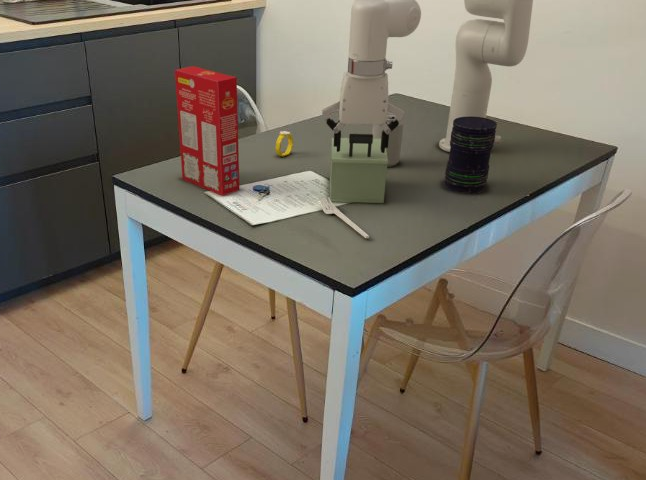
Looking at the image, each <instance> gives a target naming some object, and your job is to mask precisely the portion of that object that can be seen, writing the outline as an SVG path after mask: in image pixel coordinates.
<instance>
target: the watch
mask: <svg viewBox="0 0 646 480" xmlns="http://www.w3.org/2000/svg"><path fill="white" fill-rule="evenodd" d="M285 138H287V140H288V141H287V143H288V144H287V146H286V147H287V148H286V149H285V151H284V152H282V150H281V147H282V142H283V139H285ZM293 146H294V138H293V135H292V134H291V132H290V131H287V130H280V131H279V135H278V137H277V140H276V142H275V153H276V154H277V156H279V157H286V156H287V155H288V156H289V155H290V154H291V152H292V150H293Z"/></svg>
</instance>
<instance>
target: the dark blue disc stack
mask: <svg viewBox="0 0 646 480" xmlns="http://www.w3.org/2000/svg"><path fill="white" fill-rule="evenodd" d="M497 126H498V123H497V122H496V121H495V120H493V119H490V118H487V117H486V118H482V117H459V118H456V119H454V121H453V127H452V132H451V140H450V146H451V148H450V152H449V155H448V160H447V162H446V167H445V172H444V175H445V176H444V181H443V186H444V187H445V188H446V189H447V190H449V191H451V192H454V193H458V194H466V195H473V194H479V193H482V192H484V191H485V190H486V185H487V181H488V178H489V171H490V158H491V154H492V150H493V148H494V145H495V143H494V141H495V136H496V131H497Z"/></svg>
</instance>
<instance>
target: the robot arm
mask: <svg viewBox="0 0 646 480" xmlns="http://www.w3.org/2000/svg"><path fill="white" fill-rule="evenodd" d="M463 1H464V8H465V11H466V12H467V13H468V14H470V15H473V16H477V17H478V16H479V17H483V18H492V19H499V20H503V21H497V20H490V19H481V18H475V19H469V20H467V21H465V22H463V23H462V24H461V25H460V26H459V28H458V30H457V33H456V36H455V69H454V70H455V71H454V78H453V85H452V93H451V98H450V99H451V100H450V106H449V113H448V119H447V120H448V121H447V127H446V134H445V137H443V138H442V139H440V140H439V144H438V147H439V148H440V149H441V150H443V151H444V152H448V153H450V148H451V146H450V140H451V132H452V127H453V121H454V119H456V118H459V117H482V118H487V114H488V108H489V102H490V96H491V90H492V85H493V78H492V77H493V76H492V72H491V70H490V66H489V65H495V66H501V67H502V66H503V67H516V66H517V65H519V64H521V62H522V61H523V59H524V58H525V56H526V53H527V51H528V50H527V49H528V45H529V38H530V37H529V36H530V30H531V21H532V14H533V3H534V0H463ZM421 18H422V9H421V6H420V4H419V2H417V0H354V2H353V3H352V6H351V12H350V25H349V26H350V27H349V41H348V42H349V43H348V46H349V47H348V59H347V71H345V72H344V73H343V76H342V80H341V84H340V85H341V86H340V91H339V92H340V94H339V101H337V102H335V103H333V104H331V105H329V106H327V107H325V108H323V109H322V110H321V114H322V116H323V119H324V121H325V123H326V125H327V127H328V128H329V129H331V130H332V131H333V138H334V147H337V152H339V151H340V143H341V138H342V129H343V128H344V127H345V126H347V125H348V126H373V125H380V126H381V127H382V129H383V131H382V136H381V147H380V149H381V152H382V153H385V148H388V142H389V134H390V133H391V132H392V131H393V130H394V129H395V128H396V127H397V126H398V125H399V123H400V121H401V120H402V121H403V118H404V117H405V112H404V111H403V110H402V109H401V108H399V107H397V106H395V105H394V104H392V103H390V102H389V75H388V73H387V72H386V71H387V70H392V69H393V61H389V60H388V59H387V48H388V39H389V38H404V37H408V36H410V35H411V34H412V33H413V34H414V32H415V31H416V30H417V28H418V27H419V25H420V22H421ZM337 111H338V120H336V122H335V120H333V118H332V117H331V114H333V113H335V112H337ZM387 113H393V114H395V115H396V117H395V119H394V120H393V121H392V122H390V123H389V124H388V123H387V122H386V120H387ZM501 138H502V137H501V135H495V141H494V144H501Z"/></svg>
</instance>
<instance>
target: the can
mask: <svg viewBox="0 0 646 480" xmlns="http://www.w3.org/2000/svg"><path fill="white" fill-rule="evenodd" d="M395 117H396V115H395V114H393V113H391V112H388V113H387V120H386V122H387V123H388V124H389V123H390V122H392V121H393V120H394V119H395ZM382 131H383V129H382V127H381V126H380V125H372V131H371V134H373V139H381V136H382ZM403 131H404V121H403V119H402V120H401V121H400V123H399V125H398V126H397V127H396V128H395V129H394V130H393V131H392V132H391V133H390V134H389V142H388V148H386V153H387V158H388V164H387V168H389V167H394V166H396V165H397V164H398V163H399V162H400V159H401V153H402V152H401V151H402V143H403V141H402V140H403V134H404V133H403Z"/></svg>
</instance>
